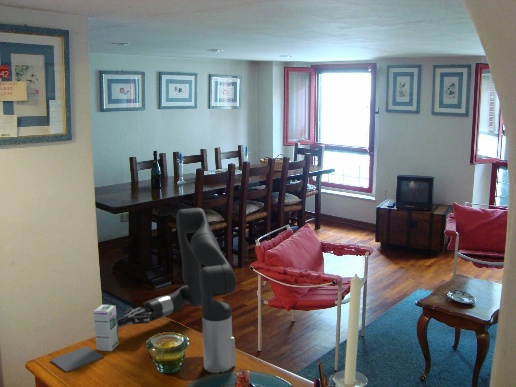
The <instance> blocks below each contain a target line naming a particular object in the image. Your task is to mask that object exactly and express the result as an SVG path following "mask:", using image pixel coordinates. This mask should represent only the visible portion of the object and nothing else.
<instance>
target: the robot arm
mask: <svg viewBox="0 0 516 387" xmlns="http://www.w3.org/2000/svg"><path fill="white" fill-rule="evenodd" d="M176 229H177V236H178V237H177V238H178V243H179V250H180V255H181V264H182V265H181V266H182V267H181V268H182V279H183V282H184V284H185V285H182V286H181V287H179V288H178V289H177V290H175V291H174V292H171V293H169V294H167V295H162V296H161V295H160V296H158V297H155V298H153V299H152V298H151V299H149V300H146V301H144V302H143V304H142V306H141V307H140V306H139V307H136V308H135V309H132V307H130V306H129V307H128V308H126V310H125V311H124V312H123V316H120V317H117V325H118V326H119V327H120V326H123V325H126V324H132V325H139V324H140V325H141V324H149V323H150V322H154V321H156V320H159V319H161V318H165V317H167V316H169V315H170V314H173V313H175V312H179V311H181V310H182V309H183V308H184V306H185V303H186V304H187V305H189V306H191V307H194V308H200V307H201V318H202V320H201V321H202V322H201V323H202V347H203V349H202V351H203V368H204V371H207V372H209V373H212V374H220V373H219V372H222V373H226V372H228V371H230V370H232V368H233V367H236V339H235V337H234V336H233V324H232V323H233V321H232V319H233V318H232V307H231V305H230V304H229V303H227V302H224V301H221V300H216V299H214V298H213V297H218V296H225V295H230V294H232V293H233V292H235V290H236V288H237V277H236V273H235V271H234V270H233V266H232V265H231V264H230V263H229V261H228V260H227V259H226V257H225V255H224V254H223V252H222V250H221V247H220V245H219V242H218V241H217V240H218V239H216V236H215V234H214V233H213V231H212V228H211V226H210V223H209V221H208V216H207V214H206V212H205V210H204V209H203V208H200V207H193V208H192V207H191V208H181V209H179V210H178V211H177V212H176ZM191 233H194V234H193V235H192V237H191V240H190V242H189V240H188V237H187V234H191ZM201 265H203V266H204V267H202V266H201ZM225 371H226V372H225Z"/></svg>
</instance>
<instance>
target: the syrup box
mask: <svg viewBox="0 0 516 387" xmlns="http://www.w3.org/2000/svg"><path fill="white" fill-rule="evenodd" d="M92 314H93V324H94V325H93V326H94V333H95V335H94V336H95V344H96V350H97V351H103V352H113V350H114V349H115V348H116V347H117V346H118V345H119V344H120V339H119V337H120V336H119V327H118V325H117V319H118V316H117V315H118V314H117V307H116V304H115V305H113V304H100V306H98V307H96V309H94V310H93V311H92Z"/></svg>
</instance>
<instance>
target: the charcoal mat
mask: <svg viewBox="0 0 516 387" xmlns="http://www.w3.org/2000/svg"><path fill="white" fill-rule="evenodd" d="M100 359H104V356H103V355H102V354H101V353H99V352H97V351H96V350H94V349H92V348H91V347H89V346H87V345H86V346H83V347H80V348H77V349H75V350H72V351H70V352H67V353H64V354H62V355H59V356H57V357H54V358H52V359H50V362H51V363H53V364H54V365H55V366H57V367H58V368H60V369H61V370H62V371H64V372H65V373H70V372H71V371H74V370H76V369H78V368H82V367H83V366H86V365H89V364H91V363H93V362H96V361H98V360H100Z"/></svg>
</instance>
